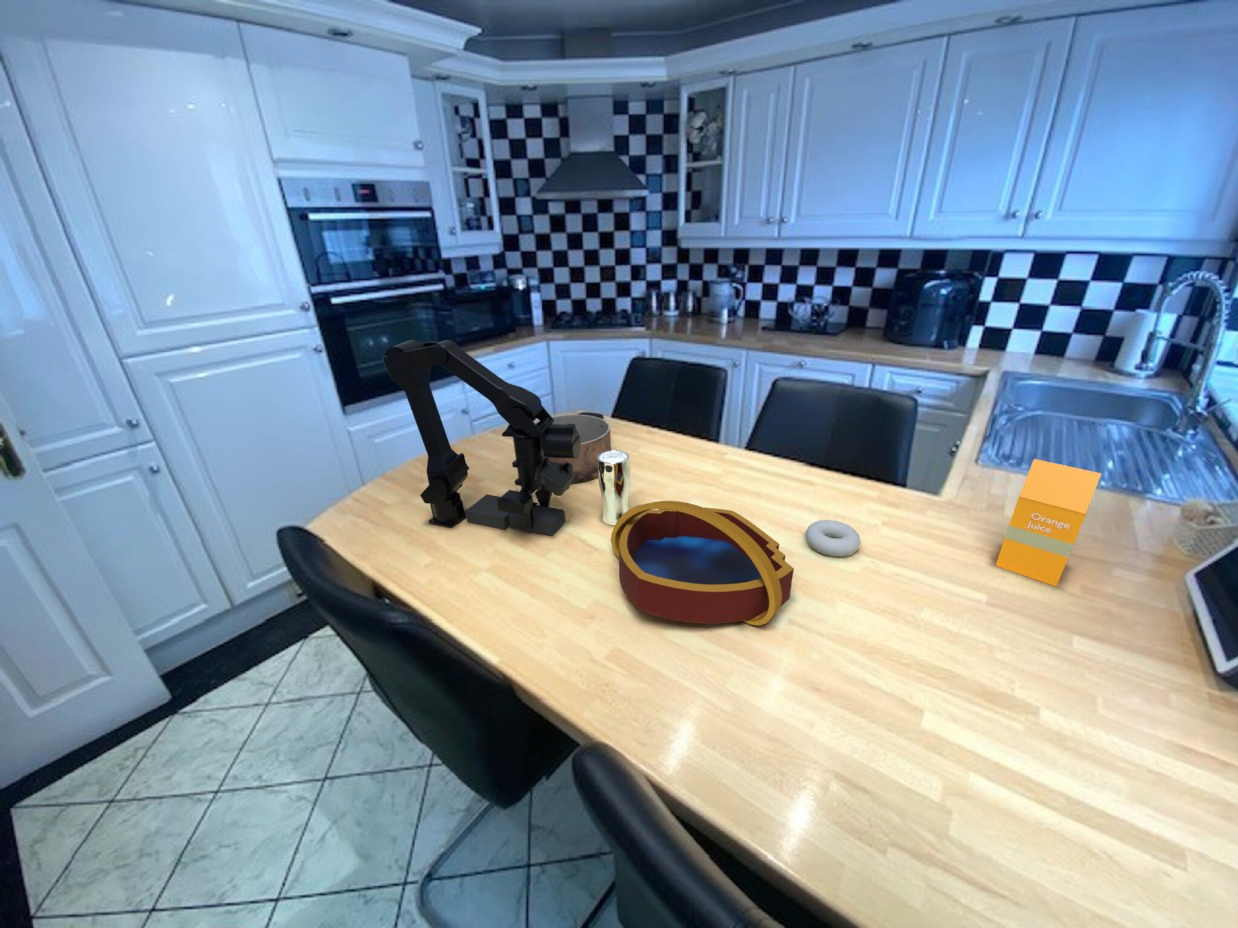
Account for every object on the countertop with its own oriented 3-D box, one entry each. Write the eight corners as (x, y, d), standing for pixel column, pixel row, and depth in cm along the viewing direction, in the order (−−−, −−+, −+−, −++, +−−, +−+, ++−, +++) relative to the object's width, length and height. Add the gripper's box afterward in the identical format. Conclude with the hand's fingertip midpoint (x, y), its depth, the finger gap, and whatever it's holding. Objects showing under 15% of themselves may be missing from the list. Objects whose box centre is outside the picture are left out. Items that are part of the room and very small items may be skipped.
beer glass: (629, 527, 108) (626, 464, 101) (597, 525, 109) (592, 462, 103) (634, 511, 114) (632, 450, 107) (604, 509, 115) (600, 449, 109)
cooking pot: (579, 498, 120) (575, 457, 116) (503, 483, 129) (497, 444, 125) (630, 450, 144) (629, 415, 140) (563, 440, 153) (560, 406, 149)
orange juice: (1005, 547, 96) (1037, 451, 88) (1064, 566, 90) (1105, 465, 82) (994, 565, 91) (1028, 466, 83) (1056, 587, 85) (1099, 482, 77)
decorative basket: (815, 597, 89) (831, 520, 84) (719, 675, 69) (733, 580, 64) (668, 530, 111) (674, 465, 107) (564, 574, 92) (566, 497, 87)
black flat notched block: (509, 527, 110) (507, 515, 108) (524, 513, 115) (522, 502, 113) (552, 535, 106) (551, 523, 105) (565, 521, 111) (564, 509, 110)
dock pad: (467, 522, 113) (465, 510, 111) (488, 505, 119) (486, 494, 118) (516, 532, 108) (514, 520, 107) (535, 513, 115) (534, 502, 113)
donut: (858, 565, 93) (860, 536, 101) (861, 550, 92) (862, 521, 100) (801, 553, 97) (807, 526, 105) (803, 538, 96) (809, 512, 104)
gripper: (541, 480, 92) (549, 551, 99) (585, 442, 108) (589, 505, 115) (490, 472, 96) (501, 541, 103) (539, 436, 112) (546, 498, 119)
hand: (538, 520), depth 110 cm, fingers closed on black flat notched block, 6 cm apart
